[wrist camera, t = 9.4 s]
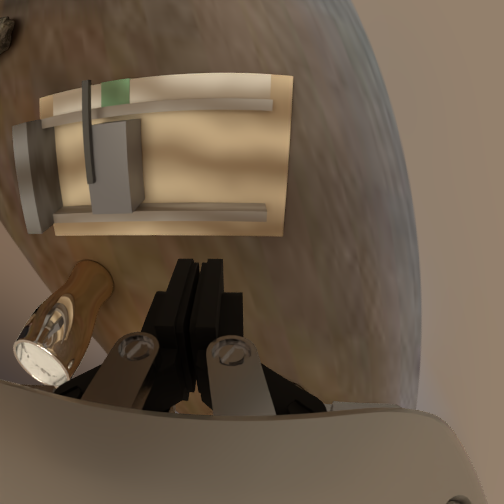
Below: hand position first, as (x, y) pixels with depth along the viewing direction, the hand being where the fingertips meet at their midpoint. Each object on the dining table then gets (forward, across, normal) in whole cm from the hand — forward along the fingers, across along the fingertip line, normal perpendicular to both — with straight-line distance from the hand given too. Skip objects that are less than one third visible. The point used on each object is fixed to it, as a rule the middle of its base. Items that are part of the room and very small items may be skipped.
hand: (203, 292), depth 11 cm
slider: (+18, +10, -5) cm, 21 cm away
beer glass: (+20, +17, +12) cm, 29 cm away
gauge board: (+20, +7, -3) cm, 21 cm away
